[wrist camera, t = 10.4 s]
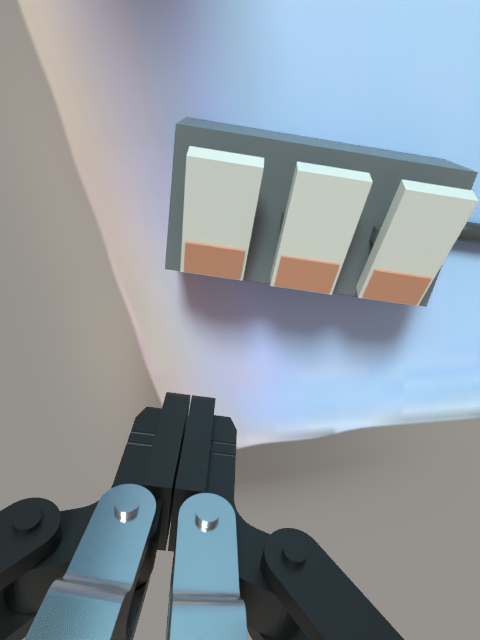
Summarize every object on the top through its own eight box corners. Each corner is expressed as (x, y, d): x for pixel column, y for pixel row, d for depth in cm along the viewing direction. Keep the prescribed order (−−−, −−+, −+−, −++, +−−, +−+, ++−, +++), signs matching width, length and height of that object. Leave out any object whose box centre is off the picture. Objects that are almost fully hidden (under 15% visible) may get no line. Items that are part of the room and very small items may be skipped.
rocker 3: (472, 190, 22) (480, 202, 21) (414, 295, 27) (418, 308, 26) (401, 179, 22) (406, 191, 21) (355, 286, 27) (358, 299, 26)
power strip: (537, 174, 28) (595, 193, 23) (484, 292, 32) (525, 328, 27) (186, 117, 27) (173, 124, 22) (175, 246, 31) (162, 276, 26)
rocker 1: (264, 157, 22) (263, 169, 21) (243, 269, 27) (242, 282, 26) (189, 145, 21) (185, 156, 20) (182, 260, 26) (179, 273, 26)
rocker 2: (369, 173, 22) (373, 183, 21) (330, 284, 27) (331, 296, 26) (296, 161, 22) (298, 171, 21) (270, 275, 26) (270, 287, 26)
